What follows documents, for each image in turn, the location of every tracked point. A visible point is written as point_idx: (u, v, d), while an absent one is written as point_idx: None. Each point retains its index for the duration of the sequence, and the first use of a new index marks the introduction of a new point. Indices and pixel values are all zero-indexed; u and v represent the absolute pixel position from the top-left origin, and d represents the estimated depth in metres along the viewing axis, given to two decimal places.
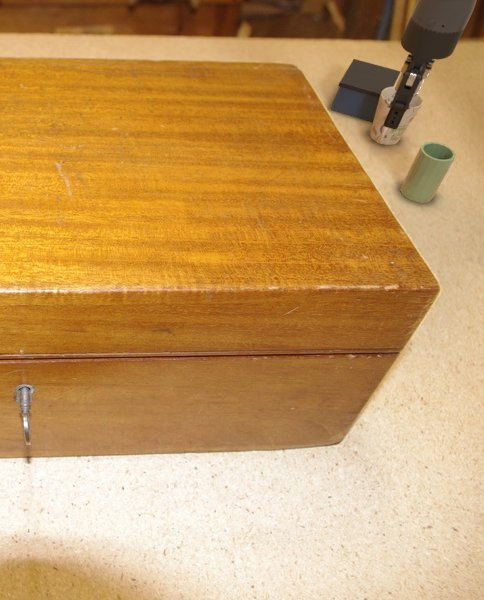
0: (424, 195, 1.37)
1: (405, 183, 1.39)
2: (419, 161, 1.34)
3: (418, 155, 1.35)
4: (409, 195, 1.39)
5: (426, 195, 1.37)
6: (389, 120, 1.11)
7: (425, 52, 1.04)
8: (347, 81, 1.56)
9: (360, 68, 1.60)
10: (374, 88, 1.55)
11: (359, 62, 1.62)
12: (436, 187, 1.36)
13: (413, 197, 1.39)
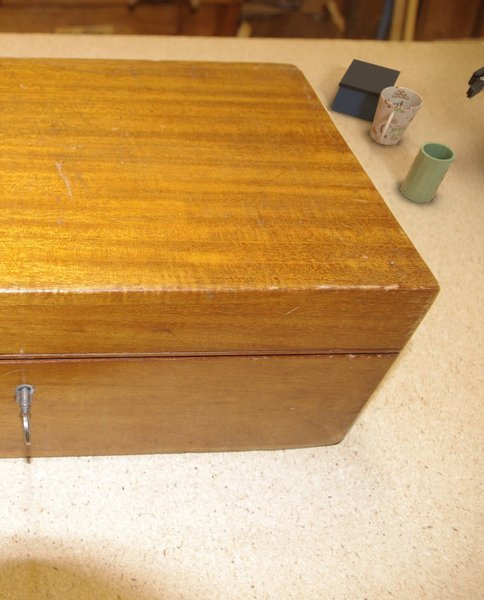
0: (424, 195, 1.37)
1: (405, 183, 1.39)
2: (419, 161, 1.34)
3: (418, 155, 1.35)
4: (409, 195, 1.39)
5: (426, 195, 1.37)
6: None
7: None
8: (347, 81, 1.56)
9: (360, 68, 1.60)
10: (374, 88, 1.55)
11: (359, 62, 1.62)
12: (436, 187, 1.36)
13: (413, 197, 1.39)
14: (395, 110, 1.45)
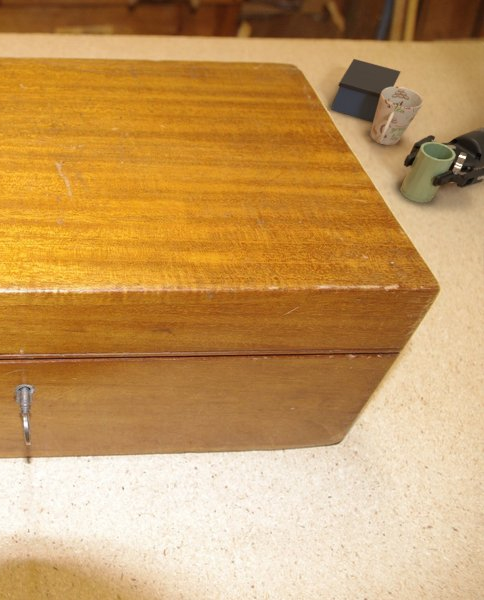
0: (424, 195, 1.37)
1: (405, 183, 1.39)
2: (419, 161, 1.34)
3: (418, 155, 1.35)
4: (409, 195, 1.39)
5: (426, 195, 1.37)
6: None
7: None
8: (347, 81, 1.56)
9: (360, 68, 1.60)
10: (374, 88, 1.55)
11: (359, 62, 1.62)
12: (436, 187, 1.36)
13: (413, 197, 1.39)
14: (395, 110, 1.45)
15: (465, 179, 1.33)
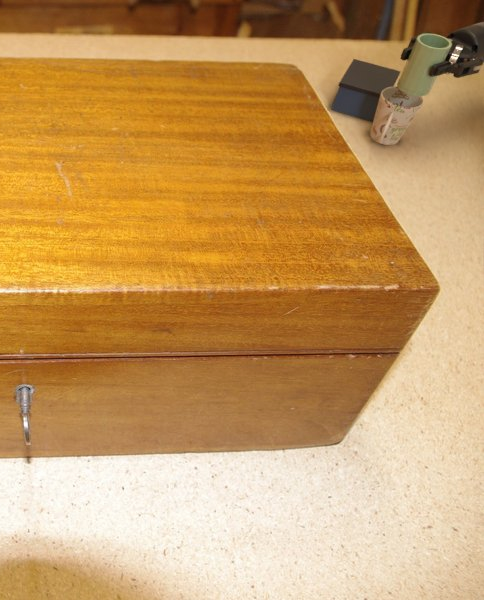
0: (421, 88, 1.38)
1: (402, 77, 1.40)
2: (415, 52, 1.35)
3: (414, 46, 1.35)
4: (406, 89, 1.40)
5: (423, 88, 1.38)
6: None
7: None
8: (347, 81, 1.56)
9: (360, 68, 1.60)
10: (374, 88, 1.55)
11: (359, 62, 1.62)
12: (432, 79, 1.37)
13: (410, 90, 1.39)
14: (395, 110, 1.45)
15: (461, 68, 1.34)
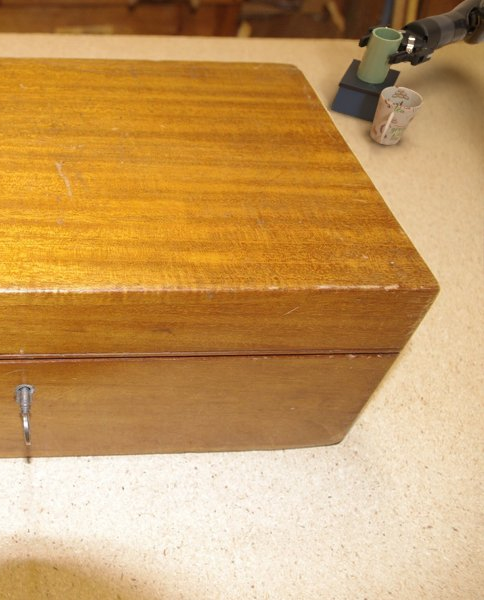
0: (376, 76, 1.55)
1: (360, 66, 1.56)
2: (371, 43, 1.52)
3: (370, 38, 1.52)
4: (363, 77, 1.56)
5: (378, 76, 1.55)
6: None
7: None
8: (347, 81, 1.56)
9: None
10: (374, 88, 1.55)
11: (359, 62, 1.62)
12: (387, 68, 1.54)
13: (367, 78, 1.56)
14: (395, 110, 1.45)
15: (417, 57, 1.50)
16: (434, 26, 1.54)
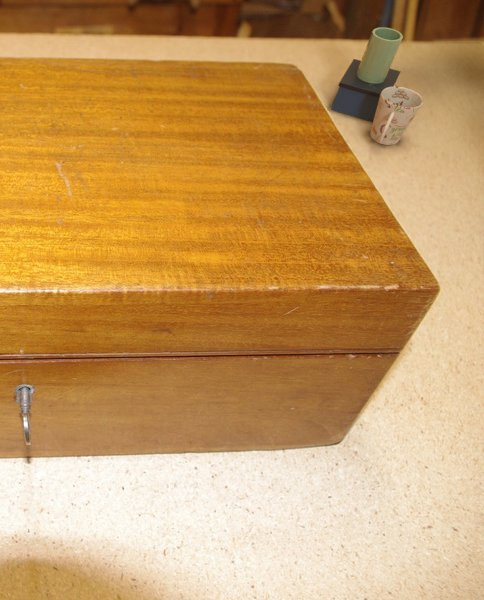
0: (376, 76, 1.55)
1: (360, 66, 1.56)
2: (371, 43, 1.52)
3: (370, 38, 1.52)
4: (363, 77, 1.56)
5: (378, 76, 1.55)
6: None
7: None
8: (347, 81, 1.56)
9: None
10: (374, 88, 1.55)
11: (359, 62, 1.62)
12: (387, 68, 1.54)
13: (367, 78, 1.56)
14: (395, 110, 1.45)
15: None
16: None
